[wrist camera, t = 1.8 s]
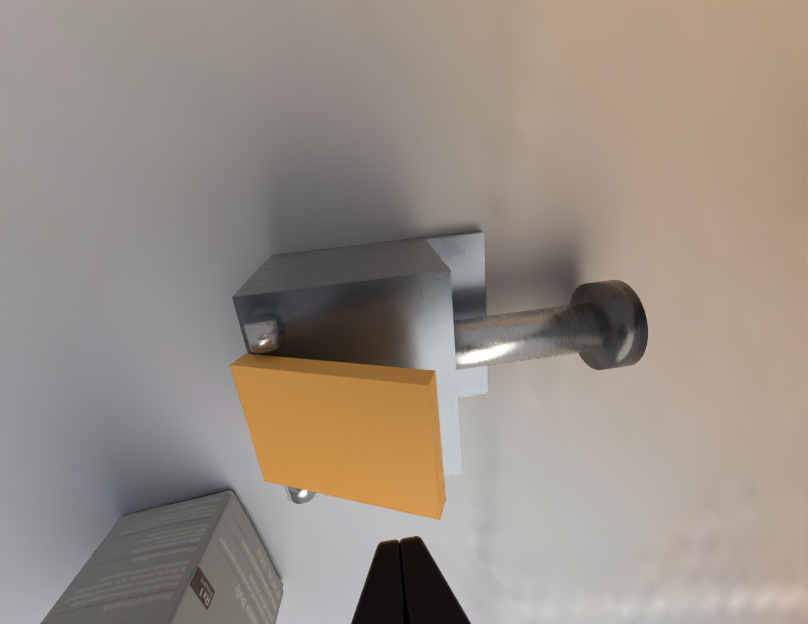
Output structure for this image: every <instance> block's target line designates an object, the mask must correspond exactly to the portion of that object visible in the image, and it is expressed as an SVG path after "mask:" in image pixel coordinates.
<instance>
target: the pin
mask: <svg viewBox="0 0 808 624" xmlns="http://www.w3.org/2000/svg"><path fill="white" fill-rule="evenodd" d="M453 323H454V341H455V358H456V370H460V369H467V368H474V367H481V366H488V365H496V364H503V363H510V362H517V361H524V360H531V359H538V358H546V357H553V356H560V355H567V354H574V353H579V355H580V356H581V358H582V359H583V360H584V362H585V363H586V364H587V365H589V366H590V367H591V368H593V369H596V370H603V369H610V368H617V367H624V366H631V365H634V364H635V363H637V362H638V361H639V360H640V359H641V357H642V356H643V354H644V352H645V349H646V346H647V340H648V325H647V319H646V315H645V311H644V308H643V306H642V303H641V301H640V299H639V298H638V296H637V294H636V293H635V292H634V290H633V289H632V288H631V287H630V286H628V285H627V284H626V283H624V282H622V281H619V280H610V281H602V282H594V283H586V284H582V285H580V286H579V287H578V288H577V289H576V290H575V292H574V293H573V296H572V298H571V302H570V305H567V306H559V307H552V308H544V309H536V310H529V311H521V312H514V313H506V314H499V315H491V316H483V317H476V318H468V319H461V320H453Z"/></svg>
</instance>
